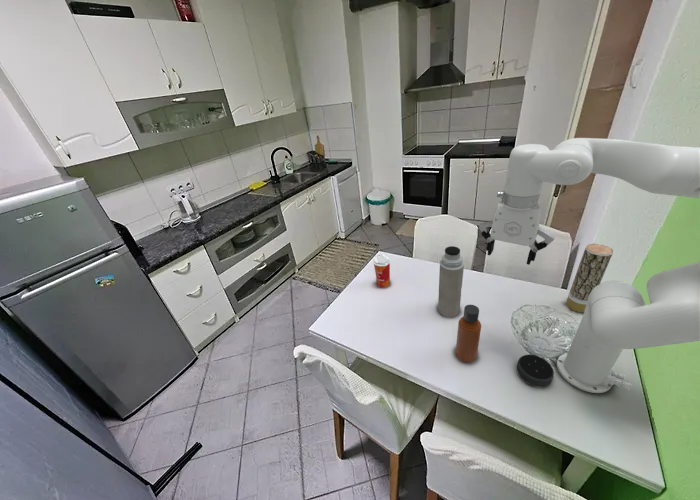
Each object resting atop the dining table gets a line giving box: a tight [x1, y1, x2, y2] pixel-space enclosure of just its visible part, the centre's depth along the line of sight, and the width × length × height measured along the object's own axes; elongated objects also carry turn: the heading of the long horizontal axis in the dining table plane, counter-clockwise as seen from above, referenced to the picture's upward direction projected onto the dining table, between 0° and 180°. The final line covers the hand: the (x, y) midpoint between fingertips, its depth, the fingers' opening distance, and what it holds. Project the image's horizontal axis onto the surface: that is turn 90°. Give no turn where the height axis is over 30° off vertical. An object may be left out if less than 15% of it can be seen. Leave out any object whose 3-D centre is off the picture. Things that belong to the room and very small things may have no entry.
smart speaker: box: [516, 354, 555, 388], centre depth 81 cm, size 9×9×4 cm
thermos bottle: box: [437, 245, 465, 318], centre depth 101 cm, size 8×8×28 cm
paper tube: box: [565, 243, 614, 313], centre depth 95 cm, size 7×7×25 cm
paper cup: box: [372, 254, 391, 289], centre depth 124 cm, size 8×8×14 cm
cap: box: [462, 304, 480, 323], centre depth 81 cm, size 4×4×3 cm
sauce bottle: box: [455, 316, 482, 364], centre depth 86 cm, size 6×6×20 cm
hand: (508, 257), depth 76 cm, fingers open, 9 cm apart
